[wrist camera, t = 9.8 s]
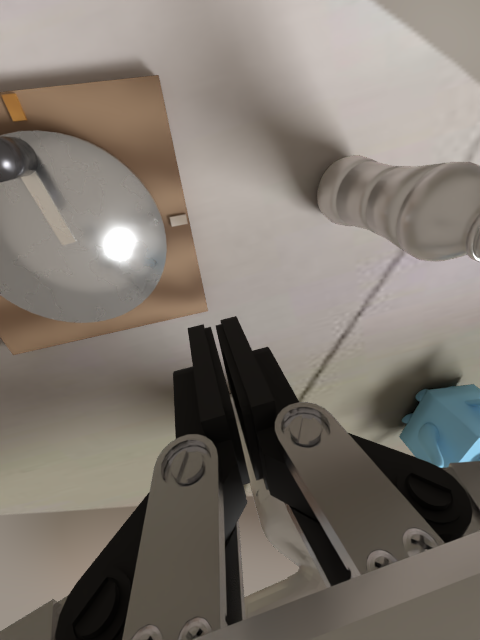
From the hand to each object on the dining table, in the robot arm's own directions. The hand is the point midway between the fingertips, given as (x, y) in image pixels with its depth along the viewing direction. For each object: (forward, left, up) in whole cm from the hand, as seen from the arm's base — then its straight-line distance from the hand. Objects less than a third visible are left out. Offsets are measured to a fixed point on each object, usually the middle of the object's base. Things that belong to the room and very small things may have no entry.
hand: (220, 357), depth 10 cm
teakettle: (-48, -43, -24) cm, 69 cm away
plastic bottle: (0, -18, -24) cm, 30 cm away
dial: (0, +10, -22) cm, 24 cm away
